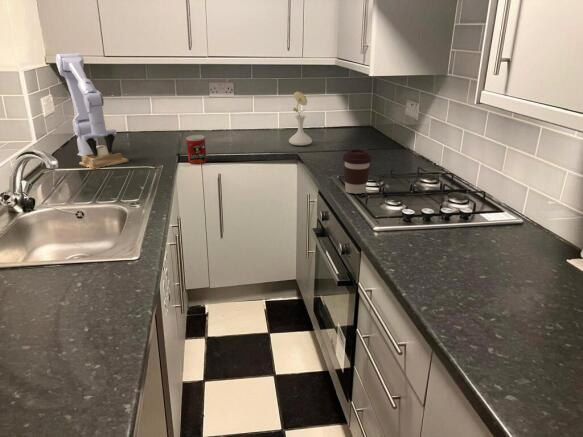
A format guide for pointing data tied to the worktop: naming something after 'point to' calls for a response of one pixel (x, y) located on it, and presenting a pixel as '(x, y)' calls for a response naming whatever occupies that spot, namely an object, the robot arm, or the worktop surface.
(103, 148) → the paper roll
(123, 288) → the worktop surface
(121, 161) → the clip holder
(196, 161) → the canned food
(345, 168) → the coffee cup
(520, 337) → the worktop surface
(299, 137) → the flower in vase
